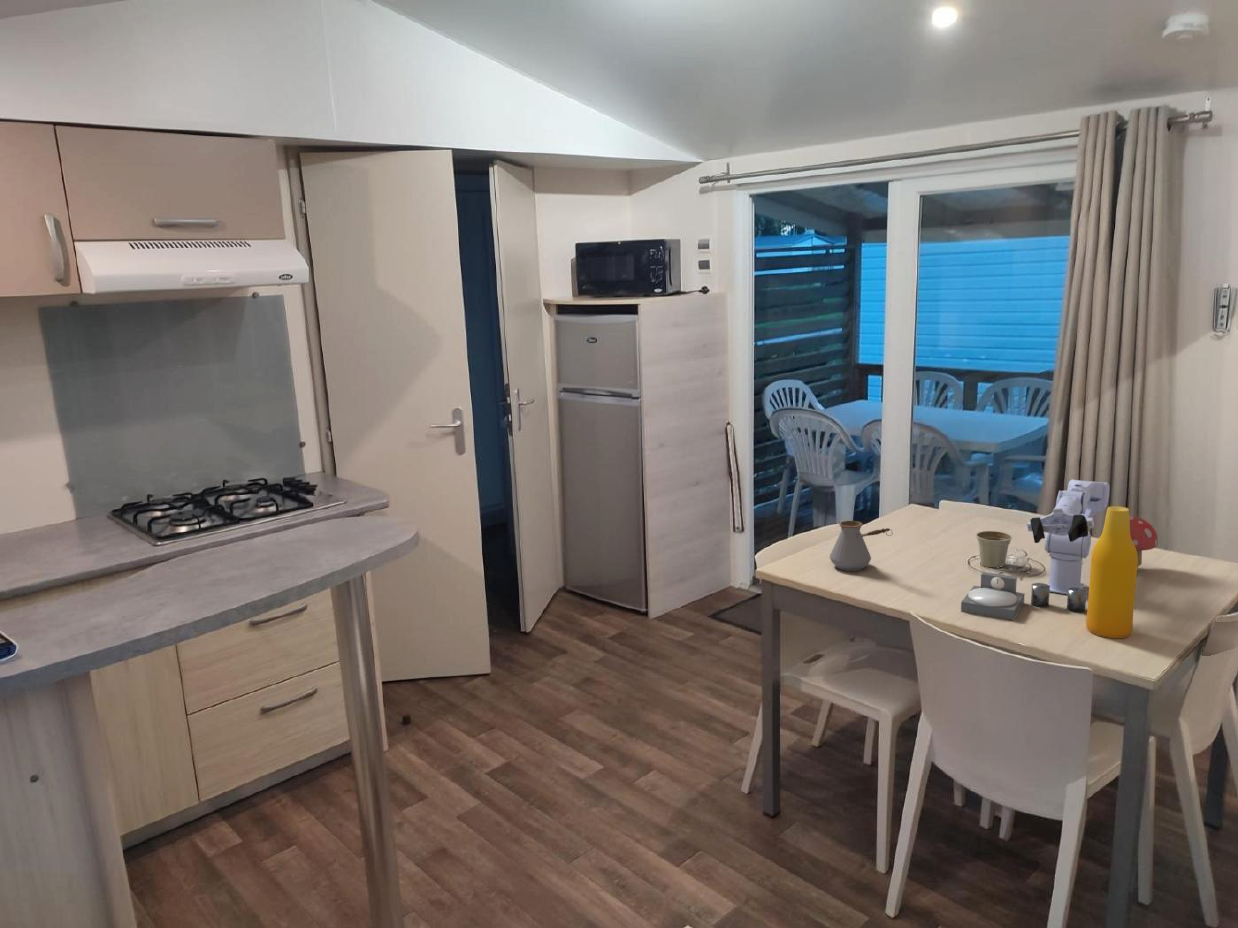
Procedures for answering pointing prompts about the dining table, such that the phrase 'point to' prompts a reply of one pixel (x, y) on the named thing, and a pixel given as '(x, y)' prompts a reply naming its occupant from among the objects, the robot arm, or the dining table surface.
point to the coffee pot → (852, 547)
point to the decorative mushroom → (1142, 536)
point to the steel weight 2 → (1076, 600)
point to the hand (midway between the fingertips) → (1052, 538)
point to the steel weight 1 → (1040, 595)
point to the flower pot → (993, 547)
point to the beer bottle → (1113, 578)
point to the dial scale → (994, 597)
